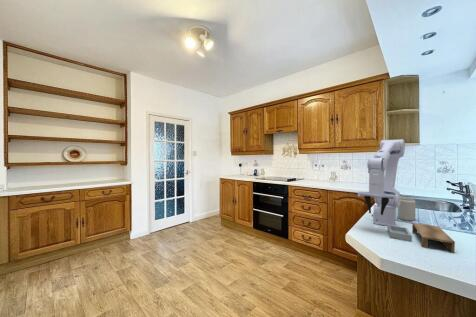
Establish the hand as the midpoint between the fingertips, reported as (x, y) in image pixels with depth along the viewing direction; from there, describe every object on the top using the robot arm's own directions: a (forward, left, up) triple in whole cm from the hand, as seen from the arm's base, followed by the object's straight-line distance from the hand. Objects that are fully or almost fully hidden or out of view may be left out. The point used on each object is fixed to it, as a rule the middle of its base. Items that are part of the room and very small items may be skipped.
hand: (375, 213), depth 93 cm
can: (+16, +31, -9) cm, 36 cm away
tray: (+9, 0, -8) cm, 12 cm away
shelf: (+19, 0, -8) cm, 21 cm away
